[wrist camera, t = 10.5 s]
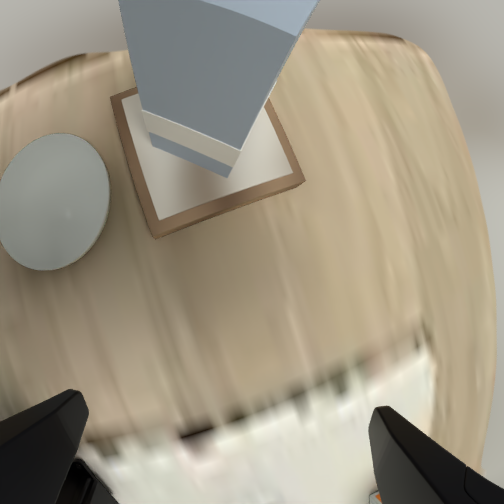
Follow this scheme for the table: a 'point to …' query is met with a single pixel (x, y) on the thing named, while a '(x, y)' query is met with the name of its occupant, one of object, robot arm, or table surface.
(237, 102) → the carton
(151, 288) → the table surface
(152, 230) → the tray
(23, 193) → the saucer
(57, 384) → the table surface
